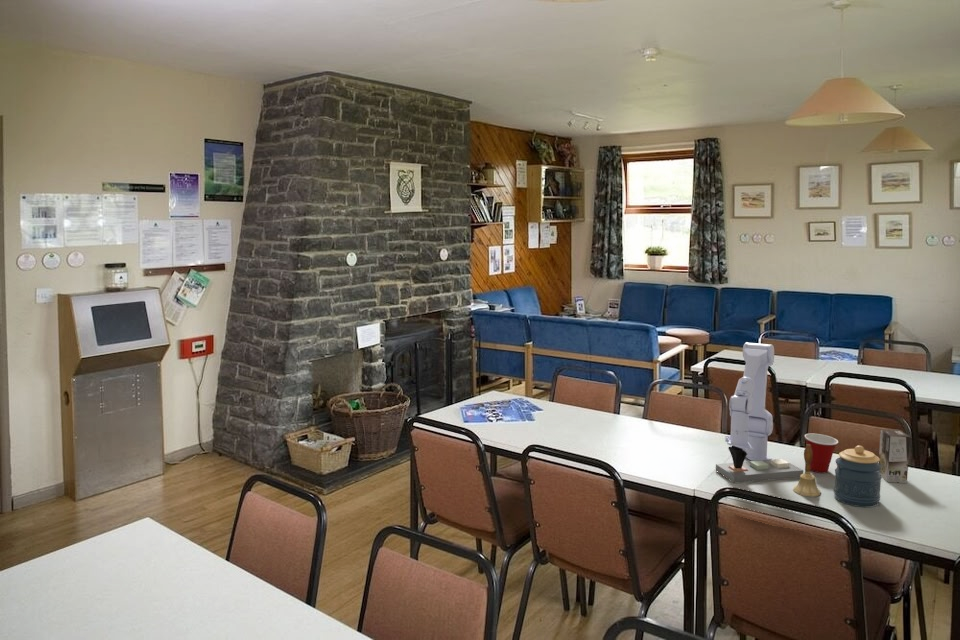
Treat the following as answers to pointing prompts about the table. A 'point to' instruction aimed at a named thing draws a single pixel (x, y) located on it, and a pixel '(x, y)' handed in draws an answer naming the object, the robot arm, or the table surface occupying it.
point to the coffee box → (894, 455)
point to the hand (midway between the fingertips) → (738, 467)
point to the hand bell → (807, 477)
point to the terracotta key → (737, 469)
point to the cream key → (779, 463)
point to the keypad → (758, 472)
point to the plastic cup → (821, 451)
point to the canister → (858, 477)
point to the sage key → (759, 465)
